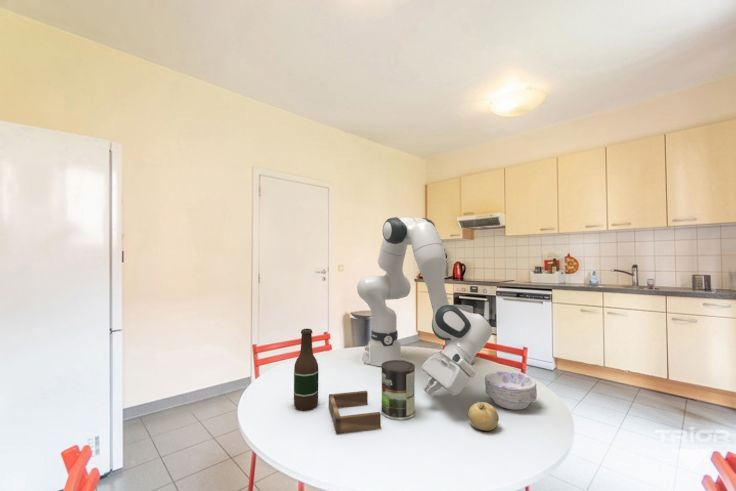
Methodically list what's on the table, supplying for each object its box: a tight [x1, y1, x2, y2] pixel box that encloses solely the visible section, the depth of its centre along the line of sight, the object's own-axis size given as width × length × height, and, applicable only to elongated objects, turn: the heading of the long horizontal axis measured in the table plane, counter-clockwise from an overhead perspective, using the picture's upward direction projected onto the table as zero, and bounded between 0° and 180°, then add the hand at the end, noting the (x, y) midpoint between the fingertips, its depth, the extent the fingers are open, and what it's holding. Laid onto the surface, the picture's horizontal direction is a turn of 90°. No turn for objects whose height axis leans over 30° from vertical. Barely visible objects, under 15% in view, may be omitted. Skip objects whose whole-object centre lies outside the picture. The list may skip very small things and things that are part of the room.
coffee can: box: [380, 360, 416, 421], centre depth 100 cm, size 10×10×14 cm
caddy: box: [328, 390, 382, 435], centre depth 96 cm, size 16×12×4 cm
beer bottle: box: [293, 328, 319, 412], centre depth 104 cm, size 8×8×24 cm
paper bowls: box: [484, 370, 538, 411], centre depth 105 cm, size 15×15×8 cm
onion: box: [467, 401, 500, 431], centre depth 91 cm, size 8×8×7 cm
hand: (426, 392), depth 102 cm, fingers closed
